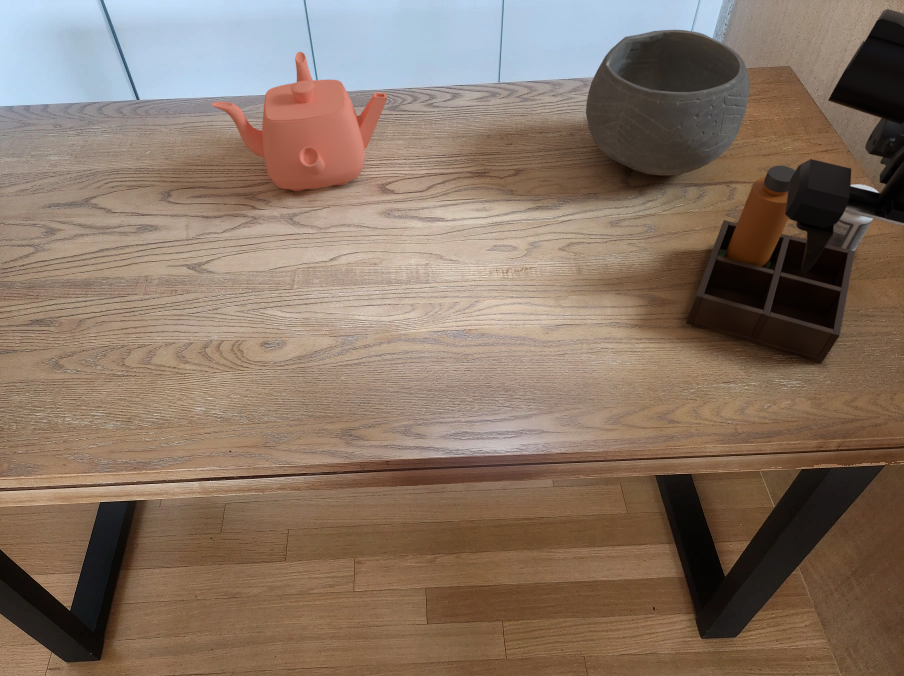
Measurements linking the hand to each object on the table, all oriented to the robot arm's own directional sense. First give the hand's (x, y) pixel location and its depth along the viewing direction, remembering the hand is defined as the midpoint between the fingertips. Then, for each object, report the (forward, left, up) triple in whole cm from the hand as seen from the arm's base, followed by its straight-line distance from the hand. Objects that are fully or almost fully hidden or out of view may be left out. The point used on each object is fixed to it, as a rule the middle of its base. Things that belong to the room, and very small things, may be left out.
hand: (853, 284), depth 63 cm
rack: (+6, -9, -13) cm, 17 cm away
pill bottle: (0, -22, -13) cm, 25 cm away
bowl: (+26, -33, -13) cm, 44 cm away
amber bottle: (+9, -12, -12) cm, 19 cm away
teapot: (+72, -11, -13) cm, 74 cm away
